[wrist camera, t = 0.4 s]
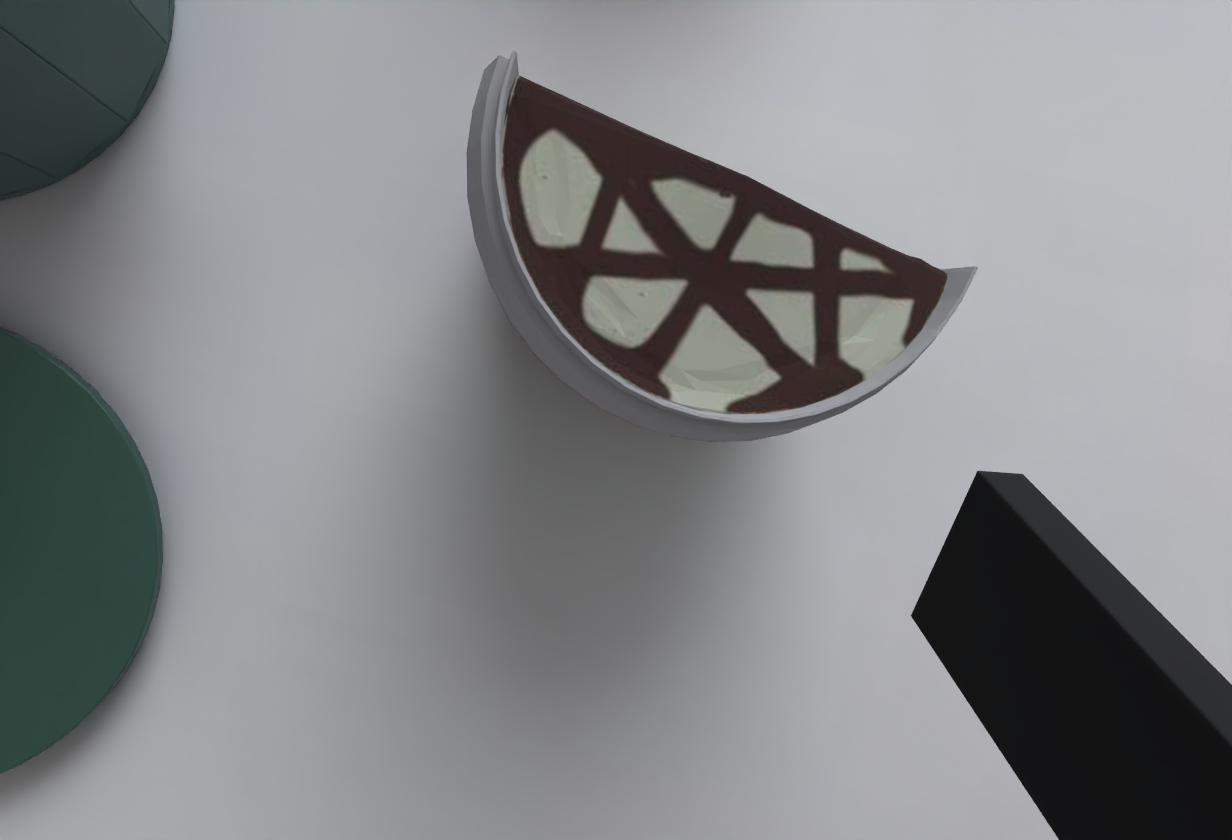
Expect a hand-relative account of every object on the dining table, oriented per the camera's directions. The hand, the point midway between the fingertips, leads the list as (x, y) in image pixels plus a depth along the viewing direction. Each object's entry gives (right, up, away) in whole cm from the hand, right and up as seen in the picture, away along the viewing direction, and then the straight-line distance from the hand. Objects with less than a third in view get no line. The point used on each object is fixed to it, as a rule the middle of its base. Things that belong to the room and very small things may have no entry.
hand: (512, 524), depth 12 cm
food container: (+2, +5, +18) cm, 19 cm away
